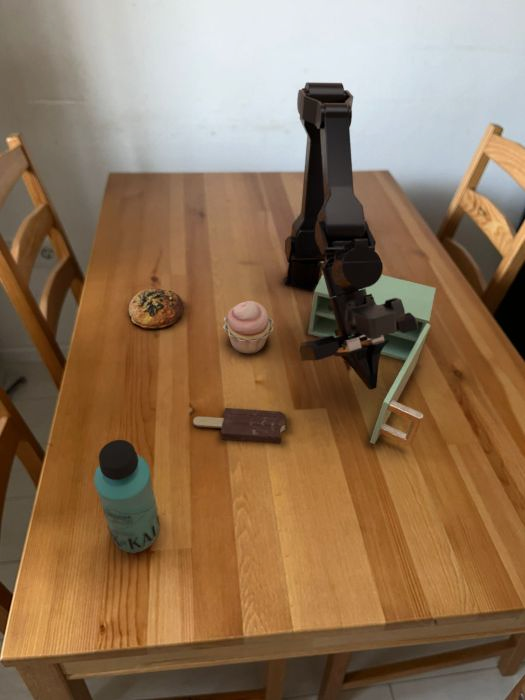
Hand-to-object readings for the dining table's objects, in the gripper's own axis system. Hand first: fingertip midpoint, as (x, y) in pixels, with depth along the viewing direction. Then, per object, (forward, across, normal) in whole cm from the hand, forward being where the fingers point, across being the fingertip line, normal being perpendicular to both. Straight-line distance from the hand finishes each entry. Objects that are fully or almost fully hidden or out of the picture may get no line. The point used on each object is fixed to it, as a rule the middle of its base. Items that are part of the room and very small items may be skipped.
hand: (372, 388), depth 81 cm
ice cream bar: (+1, -20, +9) cm, 22 cm away
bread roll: (-22, -24, +32) cm, 46 cm away
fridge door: (+6, +8, +4) cm, 11 cm away
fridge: (-8, +12, +18) cm, 22 cm away
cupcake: (-12, -11, +22) cm, 27 cm away
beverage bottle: (+9, -40, +1) cm, 41 cm away
